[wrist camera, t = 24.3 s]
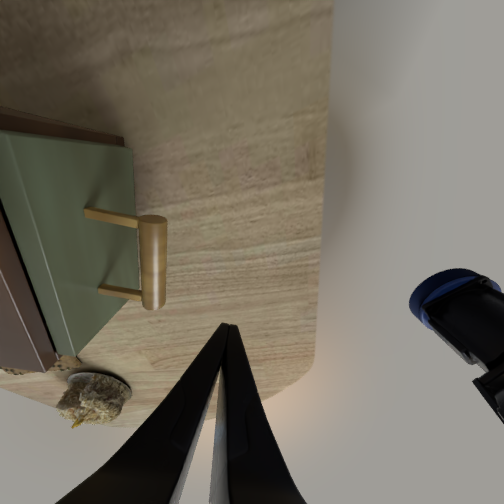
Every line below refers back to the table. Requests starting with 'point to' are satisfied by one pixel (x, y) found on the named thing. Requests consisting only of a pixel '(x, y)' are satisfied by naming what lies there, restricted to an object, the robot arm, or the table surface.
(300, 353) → the table surface
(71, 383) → the cake
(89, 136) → the cabinet
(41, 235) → the drawer
